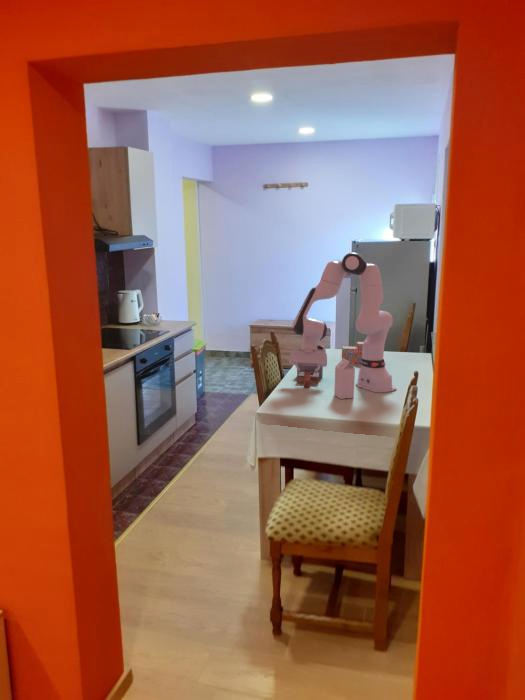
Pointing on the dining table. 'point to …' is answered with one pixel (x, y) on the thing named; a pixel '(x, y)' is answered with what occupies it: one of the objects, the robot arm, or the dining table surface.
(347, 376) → the milk carton
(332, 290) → the robot arm
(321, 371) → the backstop wall
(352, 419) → the dining table surface
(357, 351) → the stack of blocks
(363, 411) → the dining table surface
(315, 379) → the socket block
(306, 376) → the dowel
